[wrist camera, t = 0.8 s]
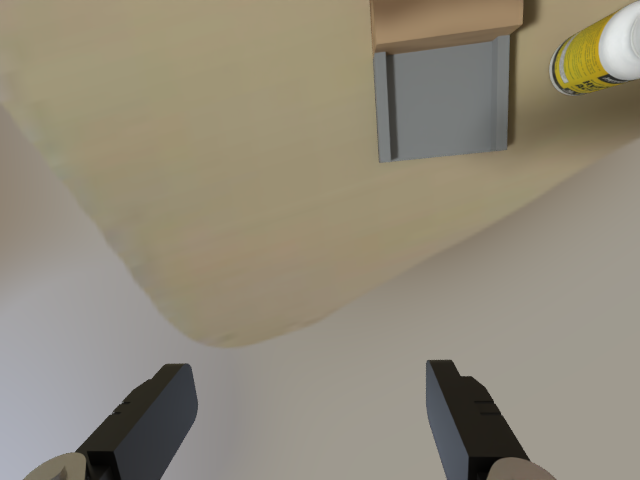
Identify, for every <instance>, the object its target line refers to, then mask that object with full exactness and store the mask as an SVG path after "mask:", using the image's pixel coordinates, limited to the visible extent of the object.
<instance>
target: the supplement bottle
mask: <svg viewBox="0 0 640 480" xmlns="http://www.w3.org/2000/svg"><path fill="white" fill-rule="evenodd" d="M549 74H550V79H551V82H552V84H553V85H554V87H555V88H556V89H557V90H558V91H560V92H561V93H563V94H566V95H571V96H577V95H583V94H587V93H591V92H594V91H598V90H601V89H605V88H608V87H612V86H616V85H619V84H623V83H626V82H630V81H633V80H637V79H640V0H639V1H636V2H634V3H631V4H629V5H627V6H625V7H624V8H622V9H620V10H618V11H616V12H615V13H613V14H611V15H609V16H607V17H605V18H604V19H602V20H600V21H598V22H596V23H595V24H593V25H591V26H589V27H587V28H586V29H584V30H582V31H580V32H578V33H577V34H575V35H573V36H571V37H570V38H568V39H567V40H565V41H564V42H563V43H562V44H561V45H560V46H559V47H558V48H557V50H556V51H555V53H554V54H553V56H552V59H551V62H550V67H549Z"/></svg>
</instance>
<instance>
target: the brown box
mask: <svg viewBox="0 0 640 480" xmlns="http://www.w3.org/2000/svg"><path fill="white" fill-rule="evenodd" d="M370 14H371V31H372V49H373V58H374V53H379V52H385V53H386V55H394V54H401V53H408V52H416V51H423V50H431V49H438V48H446V47H453V46H460V45H468V44H475V43H483V42H490V41H493V40H494V39H495V38H497V37H498V36H503V35H510V34H511V33H512V32H514V31H515V30H516V29H517V28H519V27H520V26H521V25H522V24H523V0H370Z"/></svg>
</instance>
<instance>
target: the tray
mask: <svg viewBox="0 0 640 480" xmlns="http://www.w3.org/2000/svg"><path fill="white" fill-rule="evenodd" d="M509 46H510V35H503V36H498V37H497V38H495V39H494V40H493V41H490V42H483V43H475V44H468V45H460V46H453V47H446V48H438V49H431V50H423V51H416V52H408V53H401V54H394V55H386V53H385V52H379V53H374V58H373V66H374V83H375V100H376V117H377V134H378V152H379V163H382V162H392V161H401V160H411V159H421V158H431V157H441V156H451V155H461V154H470V153H480V152H490V151H500V150H507V128H508V87H509Z"/></svg>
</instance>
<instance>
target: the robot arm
mask: <svg viewBox="0 0 640 480" xmlns="http://www.w3.org/2000/svg"><path fill="white" fill-rule="evenodd" d="M426 407H427V414H428V419H429V423H430V427H431V430H432V433H433V436H434V439H435V443H436V446H437V449H438V452H439V455H440V458H441V462H442V465H443V468H444V471H445V474H446V477H447V480H556V479H555V478H554V477H553V476H552V475H551V474H550V473H549V472H547V471H546V470H545V469H543V468H542V467H540V466H538V465H536V464H535V463H532V462H531V461H530V459H529V458H528V456H527V455H526V453H525V451H524V450H523V448H522V446H521V445H520V443H519V442H518V440H517V438H516V437H515V435H514V433H513V432H512V430H511V428H510V427H509V425H508V424H507V422H506V420H505V419H504V417H503V416H501V412H500V411H499V409H498V407H497V406H496V404H494V401H493V399H492V398H491V396H490V394H489V393H488V391H487V389H486V388H485V387H484V386H483V385H482V384H480V383H479V382H478V381H476V380H475V379H474V378H473V377H471V376H467V377H465V376H460V374H459V372H458V371H457V369H456V367H455V365H454V363H453V362H452V360H427V363H426ZM197 410H198V401H197V395H196V390H195V385H194V379H193V374H192V369H191V366H190V365H189V364H165V365H164V366H163V367H162V368H161V369H160V370H159V371H158V372H157V373H156V374H155V376H154V377H153V378H152V379H149V380H147V381H146V382H144V383H143V384H141V385H140V386H138V387H137V388H135V389H134V390H133V391H132V392H131V393H130V394H129V395H128V396H127V397H126V398H125V399H124V400H123V401H122V404H119V406H118V407H117V408H116V409H115V410H114V411H113V412H112V415H109V416H108V417H107V418H106V419H105V421H104V422H103V423H102V424H101V425H100V426H99V427H98V428H97V429H96V430H95V431H94V432H93V433H92V434H91V435H90V437H89V438H88V439H87V440H86V441H85V442H84V443H83V444H82V445H81V446H80V447H79V448H78V449H77V450H76V451H75V452H74V453H66V454H63V455H60V456H57V457H55V458H52V459H50V460H48V461H46V462H45V463H43V464H41V465H40V466H38V467H37V468H36V469H34V470H33V471H32V472H30V473H29V474H28V475H27V476H26V477H25V478H24V479H23V480H160V479H161V477H162V475H163V474H164V472H165V470H166V469H167V467H168V465H169V464H170V462H171V460H172V458H173V457H174V455H175V453H176V452H177V450H178V448H179V447H180V445H181V443H182V442H183V440H184V438H185V436H186V435H187V433H188V431H189V430H190V428H191V426H192V424H193V423H194V421H195V418H196V415H197Z"/></svg>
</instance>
